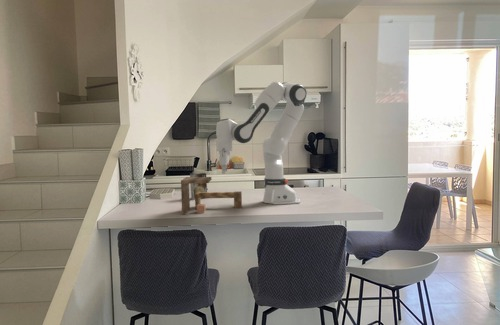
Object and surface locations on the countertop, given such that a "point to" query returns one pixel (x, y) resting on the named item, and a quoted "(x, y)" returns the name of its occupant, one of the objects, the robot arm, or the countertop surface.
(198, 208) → the cube
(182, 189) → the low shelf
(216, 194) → the wooden bridge block
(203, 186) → the coffee box
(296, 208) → the countertop surface
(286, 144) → the robot arm
